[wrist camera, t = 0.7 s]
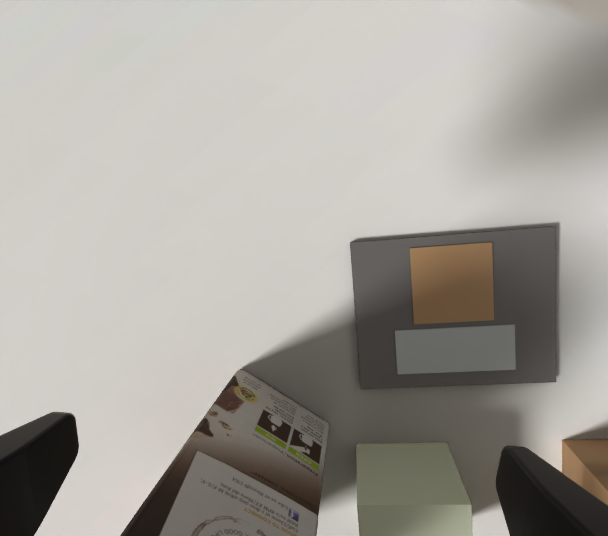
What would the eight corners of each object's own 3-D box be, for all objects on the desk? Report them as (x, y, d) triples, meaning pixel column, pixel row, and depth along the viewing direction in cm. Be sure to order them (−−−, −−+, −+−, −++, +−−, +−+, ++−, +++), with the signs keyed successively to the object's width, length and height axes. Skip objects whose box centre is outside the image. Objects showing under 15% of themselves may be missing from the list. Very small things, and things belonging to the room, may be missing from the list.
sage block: (450, 522, 24) (475, 603, 19) (362, 521, 25) (364, 600, 20) (446, 441, 23) (471, 504, 19) (356, 443, 24) (357, 504, 19)
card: (552, 378, 22) (557, 382, 22) (360, 385, 23) (361, 389, 23) (551, 226, 21) (556, 227, 20) (350, 242, 22) (350, 243, 22)
